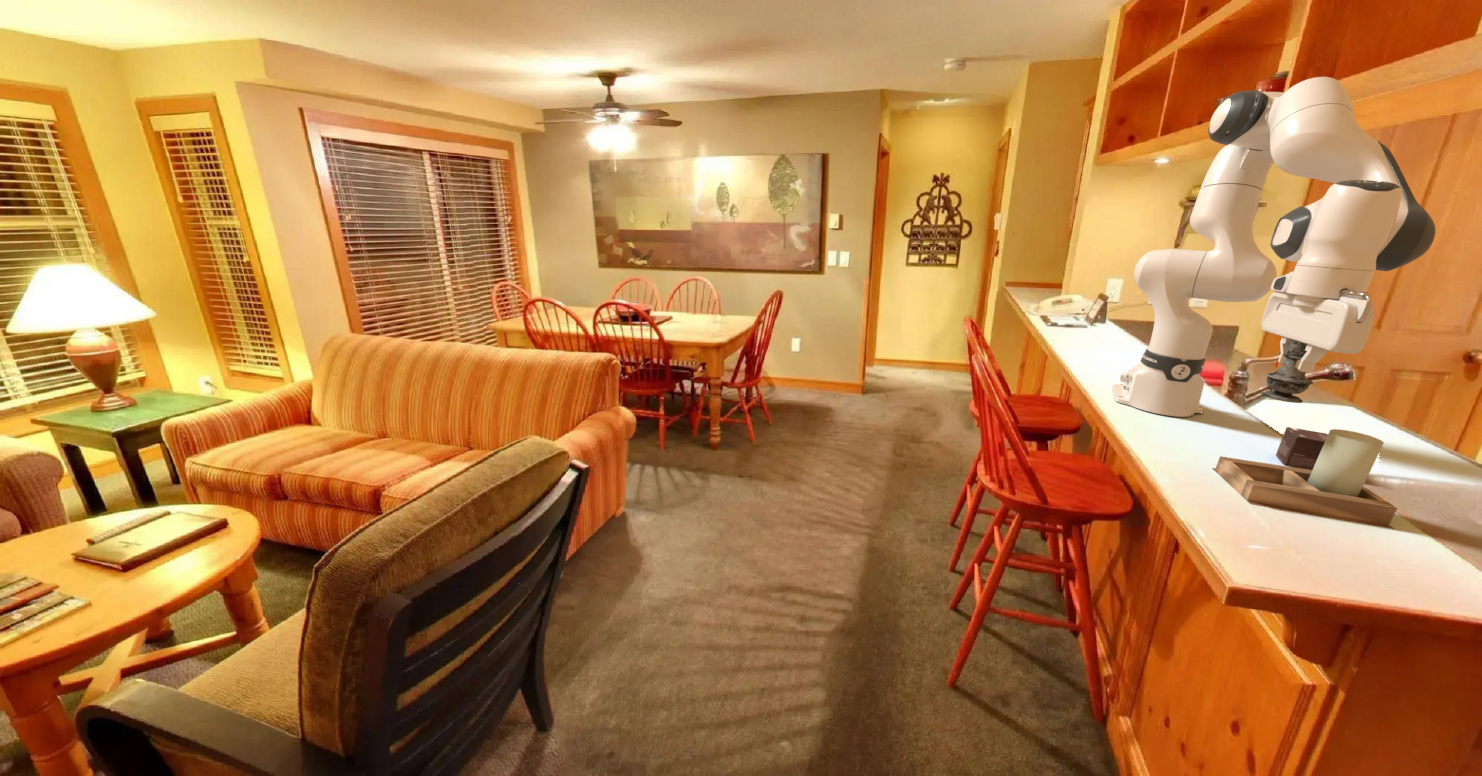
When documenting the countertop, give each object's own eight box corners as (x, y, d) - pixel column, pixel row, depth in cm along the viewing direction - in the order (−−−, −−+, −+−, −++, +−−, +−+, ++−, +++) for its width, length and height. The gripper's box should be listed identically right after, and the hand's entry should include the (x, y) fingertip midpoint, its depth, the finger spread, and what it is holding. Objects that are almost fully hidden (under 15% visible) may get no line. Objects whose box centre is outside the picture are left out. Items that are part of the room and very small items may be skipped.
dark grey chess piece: (1314, 405, 89) (1344, 335, 85) (1274, 400, 90) (1302, 331, 86) (1287, 394, 95) (1314, 328, 91) (1250, 390, 96) (1275, 324, 92)
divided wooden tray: (1210, 472, 102) (1217, 453, 100) (1332, 492, 96) (1341, 472, 95) (1248, 509, 89) (1257, 488, 88) (1392, 534, 84) (1403, 512, 82)
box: (1324, 479, 101) (1339, 444, 99) (1281, 470, 104) (1295, 435, 102) (1313, 467, 106) (1327, 433, 104) (1272, 458, 109) (1286, 425, 107)
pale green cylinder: (1294, 488, 95) (1321, 426, 91) (1337, 495, 93) (1366, 432, 89) (1315, 505, 89) (1345, 440, 85) (1361, 513, 87) (1394, 447, 83)
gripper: (1403, 295, 76) (1362, 387, 80) (1311, 282, 95) (1281, 357, 99) (1347, 290, 78) (1310, 380, 82) (1267, 278, 96) (1240, 352, 101)
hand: (1294, 367), depth 91 cm, fingers closed on dark grey chess piece, 3 cm apart
